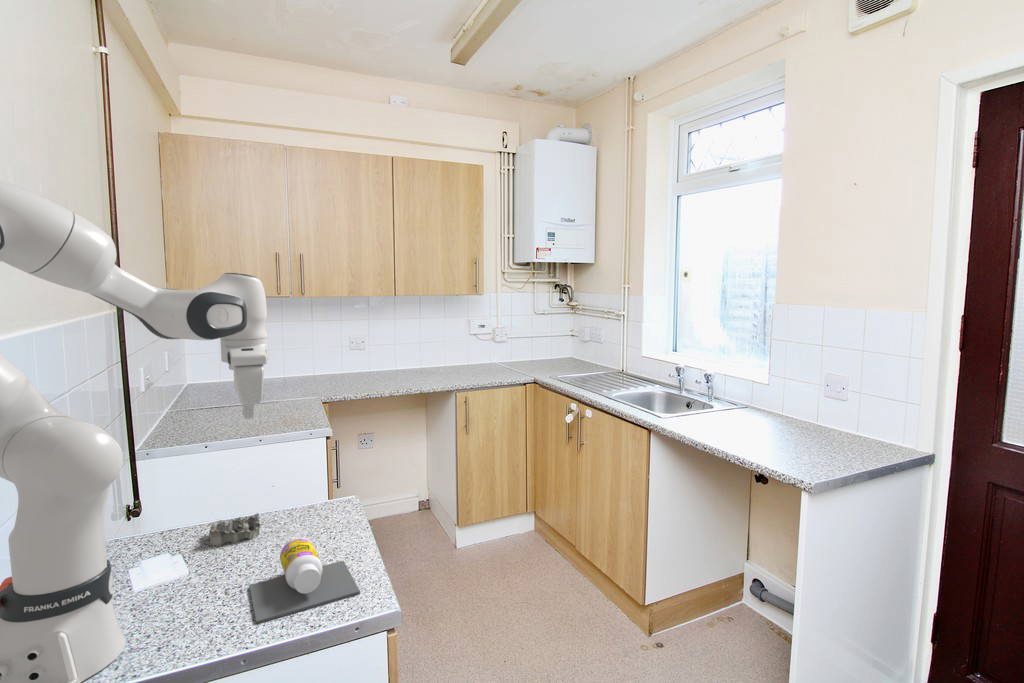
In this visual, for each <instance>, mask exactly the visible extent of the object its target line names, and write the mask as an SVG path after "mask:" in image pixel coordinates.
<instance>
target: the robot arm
mask: <svg viewBox="0 0 1024 683" xmlns="http://www.w3.org/2000/svg"><path fill="white" fill-rule="evenodd" d="M114 242H115V241H114V239H113V238H112V236H110V235H108V233H106V232H105V231H104V230H103V229H102V228H100V227H99V226H97V225H96V224H94V223H93V222H91V221H89V220H88V219H86V218H84V217H83V216H81V215H79V214H78V213H75V212H74V211H72V210H70V209H68V208H67V207H65V206H62V205H60V204H58V203H57V202H54V201H52V200H50V199H48V198H46V197H44V196H42V195H39V194H38V193H35V192H32V191H31V190H28V189H25V188H22V187H20V186H17V185H14V184H12V183H9V182H6V181H3V180H1V179H0V262H2V263H5V264H7V265H8V266H11V267H12V268H15V269H18V270H20V271H21V272H24V273H27V274H29V275H31V276H34V277H37V278H39V279H42V280H43V281H46V282H49V283H53V284H56V285H59V286H61V287H65V288H67V289H71V290H76V291H80V292H83V293H87V294H89V295H91V296H94V297H95V298H97V299H100V300H102V301H103V302H106V303H108V304H110V305H112V306H114V307H116V308H119V309H121V310H123V311H125V312H127V313H128V314H130V315H132V316H134V318H136V319H137V320H138V321H140V323H142V324H143V326H144V327H145V328H146V329H147V330H148V331H149V332H150V333H151V334H153V335H155V337H159V338H161V339H165V340H182V339H183V340H195V341H213V340H218V339H220V341H219V342H220V355H221V356H220V358H221V360H220V361H221V362H222V363H226V364H228V369H229V370H231V371H233V383H234V384H233V385H234V388H235V391H236V393H237V397H238V399H239V401H240V402H241V406H242V407H241V408H242V416H243V418H244V419H246V420H249V419H254V417H255V415H254V413H255V412H254V408H255V404H260V403H261V402H262V400H263V393H264V392H263V390H264V379H265V378H264V377H265V376H264V375H265V368H264V367H265V366H264V365H267V363H268V360H269V359H270V356H269V355H270V352H269V335H268V331H267V329H266V328H267V327H266V323H267V322H266V321H267V319H268V308H267V298H266V292H265V288H264V285H263V283H262V280H261V279H259V278H258V277H256V276H254V275H251V274H248V273H247V274H246V273H238V272H224V273H223V274H221V275H220V277H219V278H218V279H216V280H215V281H213V282H211V283H210V284H207V285H205V286H202V287H200V288H198V289H177V288H176V289H175V288H163V287H162V288H160V287H156V286H153V285H151V284H149V283H147V282H146V281H144V280H142V279H140V278H139V277H136V276H135V275H133V274H131V273H129V272H127V271H126V270H123V269H122V268H120V267H119V266H117V264H116V261H117V257H118V256H117V255H118V254H117V247H116V244H115V243H114ZM123 459H124V454H123V450H122V447H121V446H120V444H119V442H118V441H117V440H116V439H115V438H114V437H113V436H112V435H111V434H109V433H108V432H107V431H106V430H105V429H103V428H102V427H100V426H98V425H96V424H93V423H90V422H86V421H83V420H79V419H75V418H73V417H71V416H69V415H67V414H65V413H63V412H61V411H59V410H58V409H57V408H55V407H54V406H53V405H52V404H51V403H50V402H49V401H48V400H47V399H46V398H45V397H44V396H43V395H42V394H41V393H40V392H39V391H38V389H37V388H35V386H34V385H33V384H32V382H30V381H29V378H28V377H27V375H26V374H25V372H23V371H22V370H20V369H19V368H18V367H17V366H16V365H15V364H14V363H12V362H11V361H10V360H9V359H8V358H7V357H5V355H3V354H2V353H0V478H2V479H4V480H6V481H8V482H10V483H12V484H14V487H15V488H16V491H17V495H18V496H17V497H18V498H17V499H18V501H17V502H18V503H17V511H16V516H15V517H16V518H15V522H14V527H13V529H12V530H11V531H10V533H9V535H8V539H7V540H8V551H9V561H10V571H11V576H8V577H7V578H4V579H3V581H2V582H1V584H0V683H82V682H84V681H86V680H87V679H89V678H90V677H92V676H94V675H96V674H98V673H99V672H100V671H102V670H103V669H105V668H106V667H108V666H109V665H110V664H111V663H112V662H114V661H115V660H116V659H117V658H118V657H119V655H121V653H122V652H123V650H124V649H125V647H126V644H127V637H126V636H125V634H124V632H123V630H122V628H121V625H120V623H119V621H118V618H117V614H116V611H115V607H114V603H113V595H114V593H115V592H114V576H113V574H114V573H113V570H112V567H111V561H110V560H109V559H108V558H107V542H106V541H107V540H106V527H105V526H106V524H105V517H106V507H107V501H108V497H109V492H110V487H111V485H112V483H114V482H115V480H116V479H117V477H118V476H119V473H120V472H121V470H122V467H123V461H124V460H123Z"/></svg>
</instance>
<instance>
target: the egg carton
mask: <svg viewBox="0 0 1024 683" xmlns="http://www.w3.org/2000/svg"><path fill="white" fill-rule="evenodd" d="M249 527H252V528H253V530H250V528H249ZM260 528H261V523H260V514H259V513H258V512H257V513H255V514H253V515H250V516H245V517H242V516H240V517H237V518H232V519H219V520H217V521H215V522H213V523H212V524H211V525H210V527H209V532H208V536H209V538H210V539H209V540H210V546H216V547H220V546H222V545H224V544H225V543H233V544H235V543H238V541H239V540H240V541H241V539H242V540H245V539H244V538H248V539H247V540H249V539H251V540H254V539H253V538H255V539H256V538H257V537H259V536H258V535H260V536H261V533H260V532H261V531H260ZM235 530H236V531H237V532H236V531H235ZM256 536H257V537H256ZM234 542H235V543H234Z"/></svg>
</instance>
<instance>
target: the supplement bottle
mask: <svg viewBox="0 0 1024 683" xmlns="http://www.w3.org/2000/svg"><path fill="white" fill-rule="evenodd" d="M279 560H280V565H281V568H282V570H283V571H282V572H283V573H284V576H285V577H286V580H287V583H288V585H289V586H290V587H292V588H293V589H296V590H297V591H298V592H299V593H303V594H306V593H310V592H312V591H314V590H315V589H316V588H317V587H318V585H319V584H320V580H321V574H322V566H323V565H322V561H321V559H320V557H319V555H318V552H317V550H316V549H315V546H314V544H313V542H312V541H311V540H310V539H308V538H306V537H302V536H301V537H295V538H293V539H290V540H289V541H287V542H285V544H284V545H283V547H282V548H281V550H280V553H279Z"/></svg>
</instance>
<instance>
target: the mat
mask: <svg viewBox="0 0 1024 683" xmlns="http://www.w3.org/2000/svg"><path fill="white" fill-rule="evenodd" d="M249 593H250V597H251V602H252V609H253V614H254V618H255V624H256V625H257V624H261V623H265V622H268V621H271V620H275V619H278V618H281V617H284V616H288V615H292V614H295V613H298V612H299V613H300V612H302V611H306V610H309V609H312V608H315V607H320V606H322V605H325V604H330V603H333V602H335V601H336V602H337V601H339V600H342V599H346V598H350V597H353V596H356V595H358V594H359V595H360V594H361V590H360V588H359V587H358V585H357V582H356V581H355V579H354V577H353V575H352V573H351V572H350V570H349V568H348V567H347V565H346V562H345V561H344V560H341V561H337V562H334V563H333V562H332V563H329V564H327V565H326V564H324V565H322V574H321V580H320V584H319V585H318V587H317V588H316V589H315V590H314V591H312V592H310V593H306V594H303V593H299V592H298V591H297V590H296V589H293V588H292V587H290V586H289V585H288V583H287V580H286V577H285V575H283V576H279V577H275V578H271V579H268V580H264V581H259V582H256V583H251V584H249Z"/></svg>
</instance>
